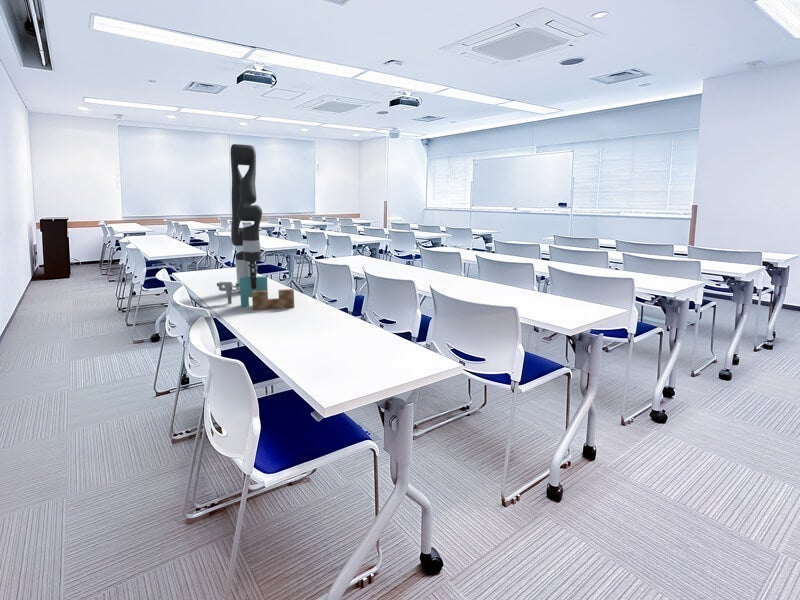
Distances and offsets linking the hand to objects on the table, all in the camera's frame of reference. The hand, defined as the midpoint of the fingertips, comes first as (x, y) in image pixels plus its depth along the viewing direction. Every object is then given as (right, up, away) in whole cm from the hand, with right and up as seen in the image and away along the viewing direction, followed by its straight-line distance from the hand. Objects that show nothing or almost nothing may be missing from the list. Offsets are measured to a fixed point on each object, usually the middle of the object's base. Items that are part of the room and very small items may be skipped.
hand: (253, 287), depth 218 cm
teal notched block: (0, -8, +2) cm, 8 cm away
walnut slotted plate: (+10, -9, -3) cm, 14 cm away
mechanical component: (-12, -8, +4) cm, 15 cm away
